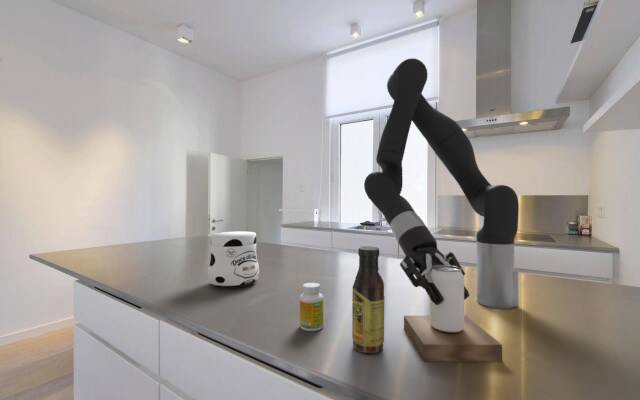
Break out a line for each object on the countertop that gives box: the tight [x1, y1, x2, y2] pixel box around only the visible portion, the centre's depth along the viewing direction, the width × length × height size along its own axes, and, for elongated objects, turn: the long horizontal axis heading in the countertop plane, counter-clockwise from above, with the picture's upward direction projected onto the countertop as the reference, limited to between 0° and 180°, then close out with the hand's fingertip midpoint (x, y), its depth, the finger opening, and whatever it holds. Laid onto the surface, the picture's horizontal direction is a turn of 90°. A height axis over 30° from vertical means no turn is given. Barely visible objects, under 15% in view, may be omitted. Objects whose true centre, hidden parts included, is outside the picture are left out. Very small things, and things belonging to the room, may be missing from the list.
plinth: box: [403, 315, 503, 363], centre depth 61 cm, size 14×14×3 cm
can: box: [429, 265, 465, 333], centre depth 62 cm, size 6×6×12 cm
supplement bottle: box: [299, 282, 324, 332], centre depth 70 cm, size 5×5×10 cm
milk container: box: [207, 231, 260, 289], centre depth 107 cm, size 17×17×18 cm
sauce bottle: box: [351, 245, 386, 354], centre depth 60 cm, size 7×6×20 cm
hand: (453, 300), depth 60 cm, fingers closed on can, 6 cm apart
